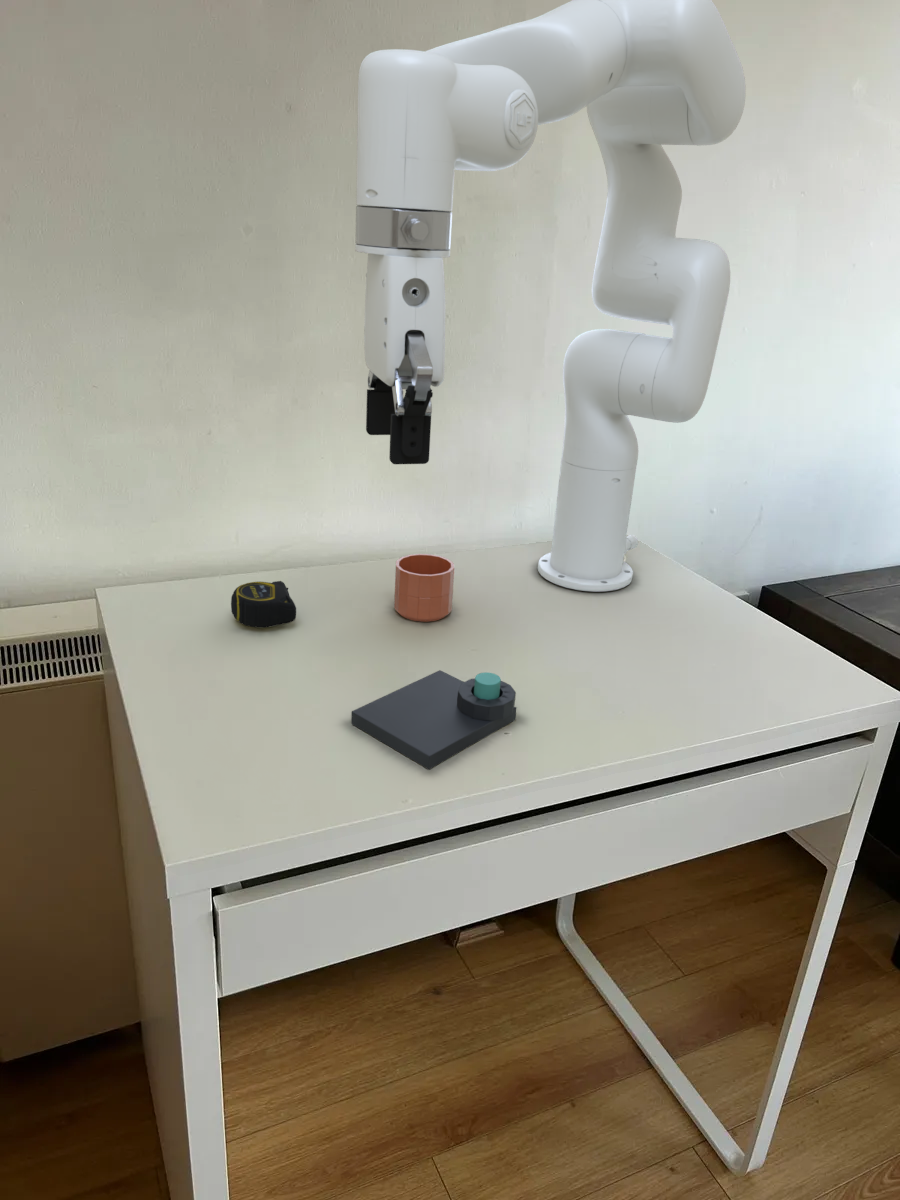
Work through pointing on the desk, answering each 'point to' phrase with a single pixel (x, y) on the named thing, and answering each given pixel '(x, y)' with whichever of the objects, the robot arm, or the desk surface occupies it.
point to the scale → (435, 717)
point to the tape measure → (263, 604)
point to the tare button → (487, 686)
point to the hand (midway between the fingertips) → (395, 447)
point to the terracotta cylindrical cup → (424, 587)
